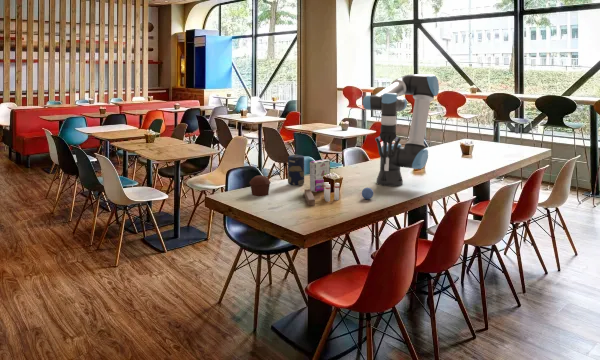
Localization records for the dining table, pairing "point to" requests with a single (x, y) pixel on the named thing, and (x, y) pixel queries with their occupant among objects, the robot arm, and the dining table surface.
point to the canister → (296, 170)
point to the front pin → (336, 191)
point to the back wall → (309, 197)
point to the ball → (367, 193)
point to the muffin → (260, 185)
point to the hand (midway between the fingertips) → (386, 170)
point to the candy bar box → (318, 174)
